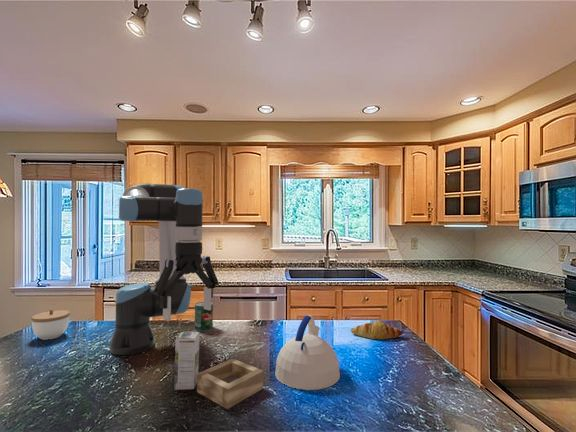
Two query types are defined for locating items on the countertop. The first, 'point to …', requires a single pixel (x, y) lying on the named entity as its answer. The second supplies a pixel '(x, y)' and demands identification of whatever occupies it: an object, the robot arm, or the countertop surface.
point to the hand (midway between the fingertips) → (188, 314)
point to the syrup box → (186, 360)
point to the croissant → (377, 330)
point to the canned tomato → (203, 317)
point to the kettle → (307, 360)
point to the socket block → (229, 382)
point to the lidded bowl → (50, 324)
